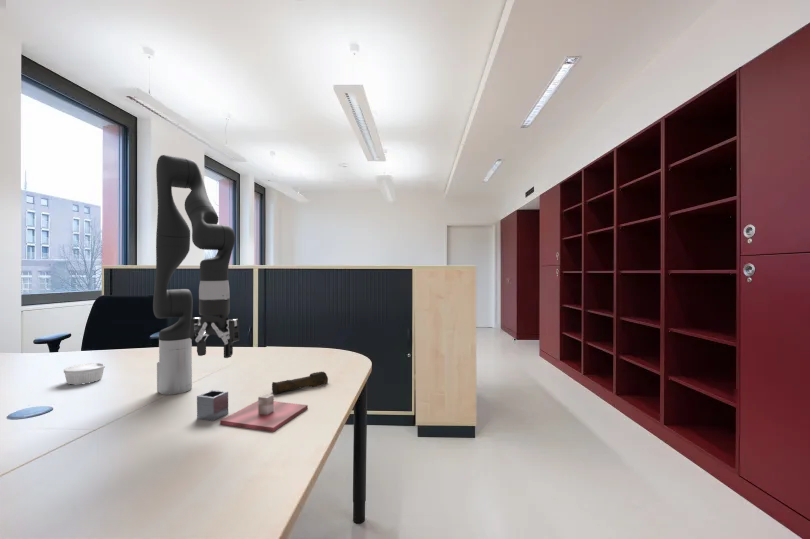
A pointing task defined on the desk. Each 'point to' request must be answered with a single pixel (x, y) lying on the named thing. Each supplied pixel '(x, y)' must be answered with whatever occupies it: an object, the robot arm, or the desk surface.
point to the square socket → (212, 405)
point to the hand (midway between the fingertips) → (214, 356)
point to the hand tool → (300, 382)
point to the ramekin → (84, 373)
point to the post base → (264, 414)
